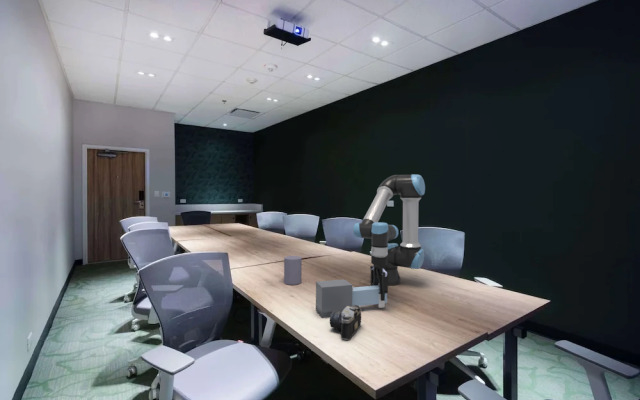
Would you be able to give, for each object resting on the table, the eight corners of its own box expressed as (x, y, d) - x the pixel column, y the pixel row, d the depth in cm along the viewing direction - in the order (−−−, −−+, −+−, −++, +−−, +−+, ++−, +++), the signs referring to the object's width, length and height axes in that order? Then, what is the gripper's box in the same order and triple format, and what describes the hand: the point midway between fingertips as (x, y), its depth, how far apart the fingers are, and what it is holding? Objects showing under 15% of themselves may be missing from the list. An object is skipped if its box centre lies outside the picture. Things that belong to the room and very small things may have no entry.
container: (304, 283, 179) (304, 258, 179) (289, 286, 173) (289, 260, 173) (295, 279, 187) (296, 255, 187) (280, 281, 182) (281, 257, 181)
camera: (339, 320, 127) (340, 297, 127) (363, 325, 123) (363, 301, 123) (324, 336, 113) (324, 309, 113) (350, 342, 109) (350, 315, 109)
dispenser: (345, 307, 142) (345, 279, 142) (353, 314, 134) (353, 284, 134) (315, 310, 138) (316, 281, 138) (321, 318, 129) (322, 287, 129)
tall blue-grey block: (381, 299, 146) (381, 284, 146) (386, 302, 141) (387, 288, 141) (346, 302, 140) (347, 287, 140) (351, 306, 136) (351, 291, 136)
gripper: (363, 252, 150) (362, 299, 150) (381, 260, 132) (380, 313, 133) (377, 251, 152) (376, 297, 152) (396, 259, 135) (395, 311, 135)
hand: (378, 304), depth 143 cm, fingers closed on tall blue-grey block, 5 cm apart
